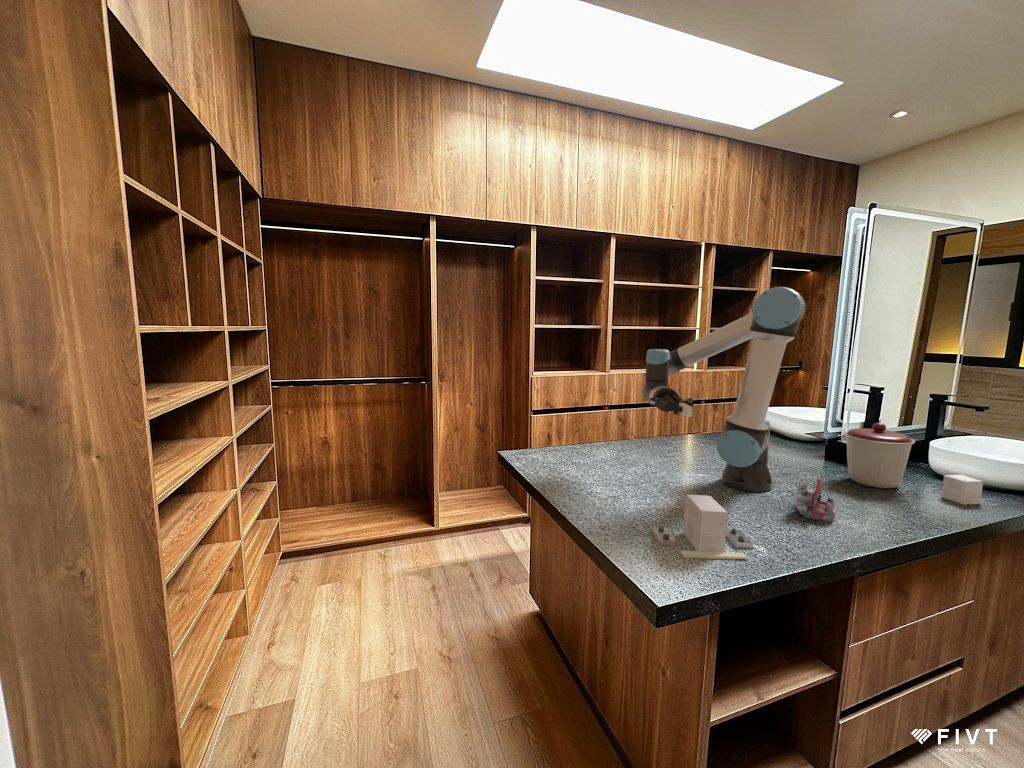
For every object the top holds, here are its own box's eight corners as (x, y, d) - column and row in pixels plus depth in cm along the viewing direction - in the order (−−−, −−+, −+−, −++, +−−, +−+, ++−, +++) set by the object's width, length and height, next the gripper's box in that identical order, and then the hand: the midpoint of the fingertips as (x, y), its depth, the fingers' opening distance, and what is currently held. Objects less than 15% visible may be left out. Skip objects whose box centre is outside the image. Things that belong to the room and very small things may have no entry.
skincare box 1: (726, 554, 98) (729, 511, 96) (697, 553, 98) (700, 510, 97) (708, 533, 108) (710, 494, 107) (682, 532, 108) (684, 493, 107)
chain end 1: (667, 531, 109) (667, 525, 108) (676, 545, 102) (676, 538, 101) (651, 531, 109) (652, 524, 109) (659, 544, 102) (659, 537, 102)
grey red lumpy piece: (845, 521, 109) (814, 479, 113) (803, 535, 116) (775, 495, 120) (848, 508, 118) (819, 469, 122) (808, 521, 124) (782, 484, 128)
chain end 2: (739, 534, 107) (739, 527, 107) (753, 548, 100) (753, 541, 100) (723, 533, 108) (723, 527, 107) (735, 547, 101) (736, 540, 100)
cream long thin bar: (742, 555, 97) (742, 552, 97) (746, 559, 95) (747, 557, 95) (680, 553, 98) (680, 550, 98) (683, 557, 96) (683, 555, 96)
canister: (905, 497, 131) (913, 431, 129) (834, 482, 145) (839, 422, 142) (912, 484, 143) (919, 423, 141) (846, 471, 157) (851, 415, 154)
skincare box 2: (981, 504, 126) (984, 481, 125) (962, 505, 126) (965, 481, 125) (958, 496, 132) (961, 474, 131) (940, 497, 132) (943, 474, 131)
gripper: (684, 410, 137) (713, 426, 113) (643, 409, 138) (664, 425, 114) (685, 387, 136) (714, 398, 112) (644, 386, 137) (665, 398, 113)
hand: (689, 411), depth 113 cm, fingers closed
